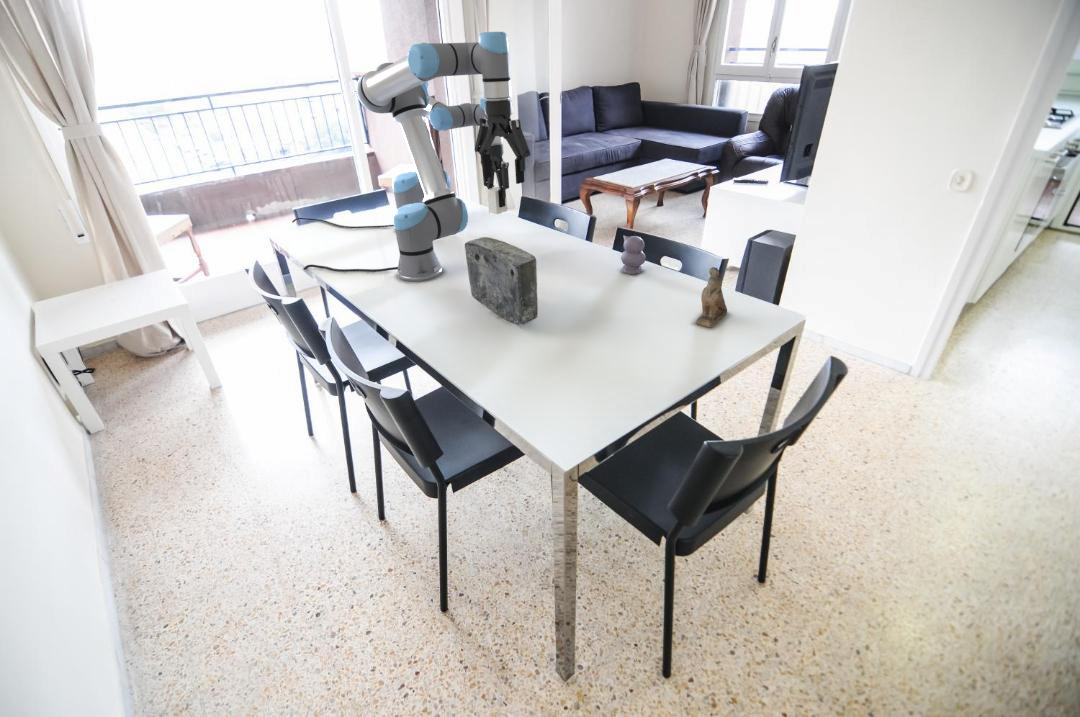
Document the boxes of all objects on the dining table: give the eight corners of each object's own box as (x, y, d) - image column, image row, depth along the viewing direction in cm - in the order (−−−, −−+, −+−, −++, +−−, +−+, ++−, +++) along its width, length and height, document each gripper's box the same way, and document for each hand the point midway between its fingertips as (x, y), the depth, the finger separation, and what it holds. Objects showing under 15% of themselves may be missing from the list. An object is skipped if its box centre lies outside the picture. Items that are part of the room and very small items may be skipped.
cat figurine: (649, 270, 171) (652, 236, 165) (636, 276, 167) (638, 242, 160) (628, 264, 176) (630, 231, 170) (615, 271, 172) (617, 237, 165)
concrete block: (545, 326, 139) (543, 257, 128) (519, 336, 134) (514, 266, 124) (495, 295, 157) (489, 234, 147) (470, 303, 153) (463, 240, 143)
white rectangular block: (507, 210, 203) (505, 188, 199) (496, 214, 200) (495, 191, 195) (499, 209, 206) (497, 186, 201) (489, 212, 202) (487, 189, 198)
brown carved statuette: (709, 335, 136) (713, 280, 124) (691, 329, 139) (693, 274, 128) (730, 313, 142) (736, 258, 130) (712, 307, 145) (716, 253, 133)
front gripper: (541, 99, 131) (543, 182, 142) (477, 97, 145) (483, 173, 156) (521, 101, 126) (525, 187, 137) (457, 99, 140) (465, 177, 151)
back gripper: (516, 144, 187) (519, 206, 199) (484, 140, 197) (489, 200, 209) (502, 147, 182) (506, 211, 194) (470, 143, 192) (476, 204, 204)
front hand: (503, 180), depth 147 cm, fingers open, 13 cm apart
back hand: (497, 205), depth 202 cm, fingers closed on white rectangular block, 5 cm apart
